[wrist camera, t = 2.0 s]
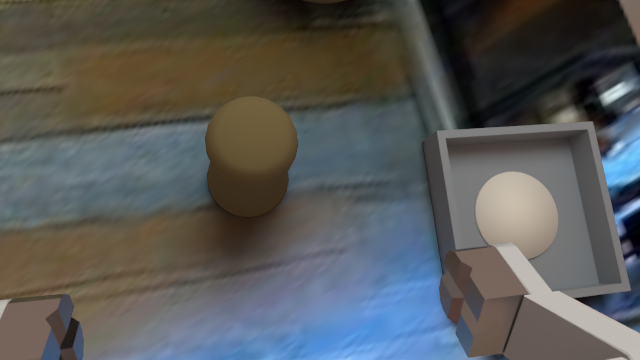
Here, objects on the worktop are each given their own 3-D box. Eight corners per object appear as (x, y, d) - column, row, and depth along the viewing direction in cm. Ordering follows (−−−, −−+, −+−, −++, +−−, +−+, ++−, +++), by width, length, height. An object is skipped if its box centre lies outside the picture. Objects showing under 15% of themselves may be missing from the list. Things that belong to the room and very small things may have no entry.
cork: (204, 215, 36) (190, 185, 26) (210, 135, 38) (199, 75, 27) (287, 219, 37) (307, 191, 26) (290, 141, 38) (310, 85, 28)
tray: (448, 310, 38) (466, 312, 35) (422, 142, 40) (436, 130, 37) (602, 290, 40) (630, 290, 37) (568, 132, 43) (592, 121, 40)
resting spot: (514, 278, 38) (516, 278, 38) (457, 206, 39) (458, 205, 39) (573, 223, 40) (574, 223, 40) (517, 155, 41) (518, 154, 40)
